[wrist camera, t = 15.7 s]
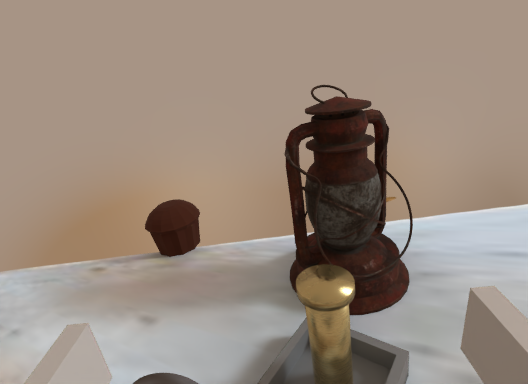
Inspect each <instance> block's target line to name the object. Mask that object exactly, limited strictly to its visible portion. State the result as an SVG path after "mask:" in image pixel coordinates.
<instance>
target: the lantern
mask: <svg viewBox="0 0 528 384" xmlns="http://www.w3.org/2000/svg"><path fill="white" fill-rule="evenodd" d="M320 87H330V88H334V89H336V90H339V91H341V92H342V93H343V94H344V95H345V97H346V98H344V97H334V98H332V99H329V100H326V101H324V102H323V101H321V100H319V99H318V98H316V97H315V96H314V94H313V91H314V90H315V89H317V88H320ZM311 95H312V97H313V98H314V99H315V100H317V101H318V102H320V103H319V104H316V105H313V106H311V107H309V108H306V109H305V113H306V114H311V115H314V116H313V117H312V118H311V122H309V123H305V124H301V125H299V126H298V127H296V128H294V129H293V130H291V132H290V133H289V136H288V138H287V140H286V150H285V156H286V171H287V178H288V186H289V193H290V201H291V209H292V217H293V226H294V235H295V244H296V247H297V249H296V260H295V261H294V263H293V265H292V267H291V270H290V281H291V284H292V287H293V289H294V290H295V292H296V293H297V289H296V279H297V277H298V275H299V274H300V273H301V272H302V271H304V270H305V269H307V268H309V267H312V266H315V265H321V264H330V265H336V266H339V267H342V268H344V269H346V270H347V271H348V272H350V273H351V275H352V276H353V278H354V281H355V296H354V299H353V300H352V302H351V303H350V304H349V315H364V314H369V313H374V312H379V311H381V310H383V309H386V308H388V307H391V306H392V305H394V304H395V303H396V302H398V301H399V300H401V298H402V297H403V296H404V294H405V293H406V292H407V289H408V285H409V273H408V270H407V268H406V266H405V264H404V263H403V262H402V261H401V260H400V258H401V256H402V255H403V254H404V252H405V251H406V249H407V247H408V245H409V242H410V239H411V235H412V226H413V224H412V213H411V208H410V204H409V202H408V199H407V197H406V194H405V193H404V191H403V189H402V187H401V186H400V185H399V183H398V182H397V181H396V179H394V177H393V176H392V175H391V174H390V173H389V172H388V171H387V170H386V168H387V167H386V166H387V143H388V135H389V128H388V126H387V124H386V120H385V118H384V116H383V115H382V113H381V112H380V111H378V110H373V109H370V110H365V111H363V110H362V109H365V108H368V107H370V106H371V102H370V101H367V100H360V99H352V98H348V97H347V95H346V93H345V92H344V91H343V90H341V89H339V88H337V87H334V86H330V85H320V86H316V87H314V88H313V89H312V91H311ZM368 123H372V124H373V125H374V132H375V138H374V137H373V136H371V135H367V134H365V132H366V129H367V125H368ZM311 136H313V138H314V139H312V140H310V141H309V142H307V143H306V148H307V149H309V150H312V151H313V152H314V163H313V164H312V165H311V166H310V168H309V170H308V172H307V173H306V172H305V171H304V170H302V169H301V168H300V165H299V144H300V142H301V140H303V139H305V138H307V137H311ZM374 142H375V165H374V163H373V162H372V161H370V160H369V159H368V158H367V146H369V145H371V144H373V143H374ZM300 172H301V173H303V174H304V175H306V185H305V187H302V183H301V174H300ZM386 173H387V174H388V175H389V176H390V177H391V178H392V179H393V180H394V182H395V183H396V184H397V185H398V187H399V188H400V190H401V192H402V193H403V195H404V197H405V200H406V202H407V205H408V209H409V213H410V233H409V238H408V241H407V244H406V246H405V248H404V250H403V251H402V253H401V254H400V255H399V250H398V248H397V246H396V244H395V243H394V242H393V241H392V240H391V239H390V238H388V237H387V236H385V235H383V234H381V233H382V231H383V229H384V226H385V224H386V223H385V217H386ZM302 190H304V191H305V197H306V209H307V211H306V213H305V211H304V200H303V191H302ZM307 213H308V216H309V219H310V221H311V223H312V226H313V228H314V231H315V233H313V234H311V235H309V236H307V231H306V220H305V218H306V215H307Z"/></svg>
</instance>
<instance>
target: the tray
mask: <svg viewBox="0 0 528 384" xmlns="http://www.w3.org/2000/svg"><path fill="white" fill-rule="evenodd" d="M350 333H351V351H352V369H353V384H405V383H406V380H407V377H408V368H409V352H408V351H406V350H403V349H401V348H398V347H395V346H393V345H390V344H388V343H385V342H382V341H380V340H377V339H375V338H372V337H369V336H367V335H364V334H362V333H359V332H356V331H354V330H351V329H350ZM257 384H315V381H314V373H313V365H312V357H311V349H310V341H309V333H308V324H307V317H306V319H305V320H304V321H303V323H302V324H301V325H300V327H299V328H298V329H297V331H296V332H295V334H294V335H293V336H292V338H291V339H290V340H289V342H288V343H287V344H286V346H285V347H284V348H283V350H282V351H281V352H280V354H279V355H278V356H277V358H276V359H275V361H274V362H273V363H272V365H271V366H270V367H269V369H268V370H267V371H266V373H265V374H264V375H263V377H262V378H261V379H260V381H259V382H258V383H257Z"/></svg>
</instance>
